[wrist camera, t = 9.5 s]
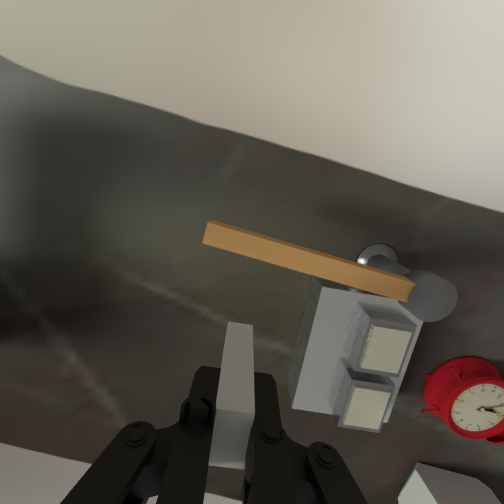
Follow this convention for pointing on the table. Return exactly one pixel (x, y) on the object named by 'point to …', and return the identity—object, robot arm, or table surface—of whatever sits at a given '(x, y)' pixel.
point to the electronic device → (444, 488)
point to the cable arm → (344, 270)
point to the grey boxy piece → (351, 351)
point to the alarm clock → (468, 398)
